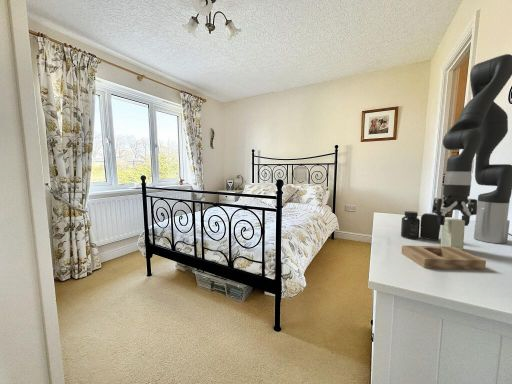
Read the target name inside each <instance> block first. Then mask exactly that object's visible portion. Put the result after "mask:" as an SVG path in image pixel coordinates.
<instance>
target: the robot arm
mask: <svg viewBox="0 0 512 384" xmlns="http://www.w3.org/2000/svg"><path fill="white" fill-rule="evenodd" d="M469 74H470V75H469V80H470V88H471V94H472V98H471V99H470V101H468V102H467V103H466V105H464V107H463V109H462V111H461V113H460V115H459V117H458V119H457V121H456V122H455V123H454V124H452V126H451V127H450V128H449V130H448V131H447V132H446V133H445V135H444V137H443V138H442V145H443V147H444V149H446V150H449V151H457V150H462V151H461V153H460V154H457V155H453V156H450V157H448V159H447V161H446V167H445V169H446V171H445V175H444V178H443V179H444V180H443V181H444V182H443V190H442V195H443V198H440V197H439V198H438V197H434V200H433V205H432V211H431V212H432V214H437V215H438V218H437V223H438V224H439V225H441V226H442V225H444V223H445V217H446V214H447V213H449V212H450V211H459V212H460V213H461V214H462V215H461V220H465V227H467V226H469V224H470V219H471V217H472V216H475V222H474V223H475V224H474V231H473V232H474V233H473V239H475V240H478V241H481V242H486V243H493V244H504V243H508V238H509V237H508V236H509V230H510V220H509V218H508V217H509V209H510V200H511V197H512V164H508V163H507V164H501V163H499V164H498V163H496V164H495V163H494V164H490V159H491V155H492V154H493V151H494V150H495V149H496V148H497V146H498V145H500V143H502V141H503V139H504V138H505V137H506V136H507V134H508V132H509V120H508V119H509V118H508V117H509V116H508V113H507V112H506V111H505V110H504V109H503V108H502V107H501V106H500V105H499V104H498V103H496V102H495V100H496V98H497V97H498V96H499V94H500V93H501V92H502V90H504V89H503V88H505V86H506V85H507V83H508V81H509V80H510V79H511V77H512V54H510V53H506V54H501V55H498V56H496V57H493V58H490V59H487V60H484V61H482V62H479V63H476V64H475V65H473V66H472V68H471V69H470V73H469ZM474 159H475V163H474V164H475V165H474V180H475V182H476V184H478V185H479V186H488V187H489V186H490V187H496V188H495V190H493V191H491V192H490V191H489V192H486V193H485V192H484V193H480V194H479V195H478V196H477V199H474V198H469V197H470V193H471V187H472V170H473V162H474Z"/></svg>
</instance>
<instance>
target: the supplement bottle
mask: <svg viewBox="0 0 512 384" xmlns="http://www.w3.org/2000/svg"><path fill="white" fill-rule="evenodd" d="M418 213H419V212H418V211H414V210H413V211H412V210H404V214H403V215H404V216H403V217H402V218H401V227H400V237H402V238H403V239H409V240H418V239H419V238H420V224H421V219H420V218H418V216H419V215H418Z"/></svg>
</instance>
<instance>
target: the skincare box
mask: <svg viewBox="0 0 512 384" xmlns="http://www.w3.org/2000/svg"><path fill="white" fill-rule="evenodd" d="M465 228H466V226H465V220H462V218H457V217H451V216H450V217H446V216H445V223H444V225H441V229H440V231H441V233H440V246H446V247H455V248H458V249H460V250H462V251H464V241H465Z"/></svg>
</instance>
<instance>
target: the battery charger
mask: <svg viewBox="0 0 512 384" xmlns="http://www.w3.org/2000/svg"><path fill="white" fill-rule="evenodd" d="M437 218H438V215H437V214H436V213H427V212H425V213H423V214H421V217H420V228H419V238H421V239H422V238H423V239H428V240H433V241H439V240H440V234H441V233H440V231H441V228H442V225H439V224H438V223H437Z"/></svg>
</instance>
